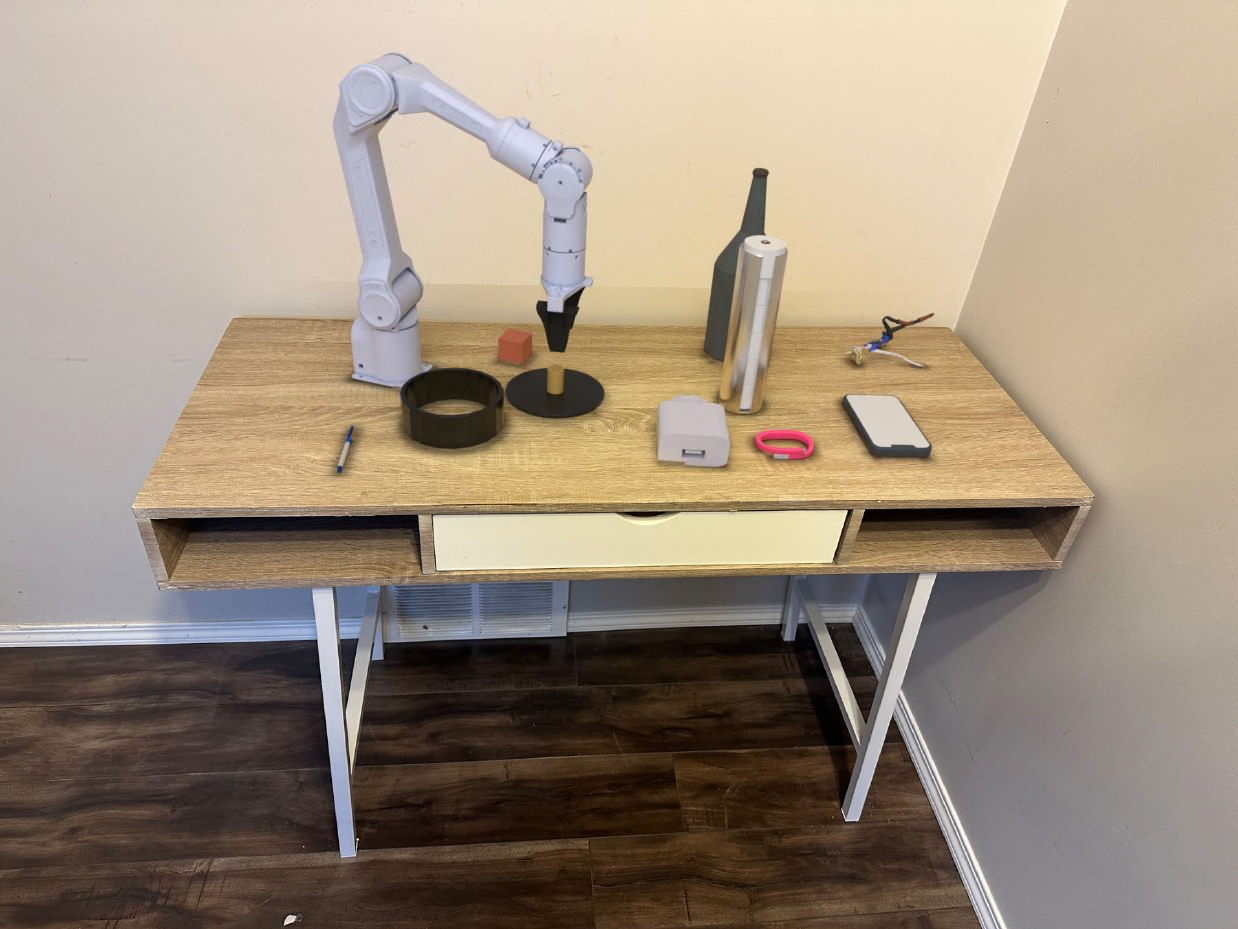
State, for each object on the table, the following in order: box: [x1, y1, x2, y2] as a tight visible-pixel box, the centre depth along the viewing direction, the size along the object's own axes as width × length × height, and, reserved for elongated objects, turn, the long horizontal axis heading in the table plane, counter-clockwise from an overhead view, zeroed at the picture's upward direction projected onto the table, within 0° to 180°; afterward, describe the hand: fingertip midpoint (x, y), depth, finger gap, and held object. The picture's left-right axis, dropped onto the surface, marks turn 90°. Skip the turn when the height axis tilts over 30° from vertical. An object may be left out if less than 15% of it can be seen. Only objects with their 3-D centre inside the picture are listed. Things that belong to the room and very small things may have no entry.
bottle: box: [703, 167, 770, 363], centre depth 140 cm, size 10×10×30 cm
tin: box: [399, 367, 505, 450], centre depth 123 cm, size 14×14×5 cm
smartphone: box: [842, 393, 933, 458], centre depth 130 cm, size 9×2×16 cm
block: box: [497, 328, 533, 364], centre depth 141 cm, size 4×4×4 cm
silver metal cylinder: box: [718, 235, 789, 415], centre depth 127 cm, size 6×6×25 cm
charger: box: [655, 392, 731, 468], centre depth 124 cm, size 5×9×15 cm
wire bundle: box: [844, 312, 935, 368], centre depth 150 cm, size 10×9×20 cm
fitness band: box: [754, 429, 815, 460], centre depth 124 cm, size 8×6×2 cm
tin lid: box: [505, 364, 605, 419], centre depth 131 cm, size 14×14×5 cm
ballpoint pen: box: [336, 425, 354, 473], centre depth 117 cm, size 10×1×1 cm, turn 6°
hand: (561, 339), depth 127 cm, fingers open, 7 cm apart
